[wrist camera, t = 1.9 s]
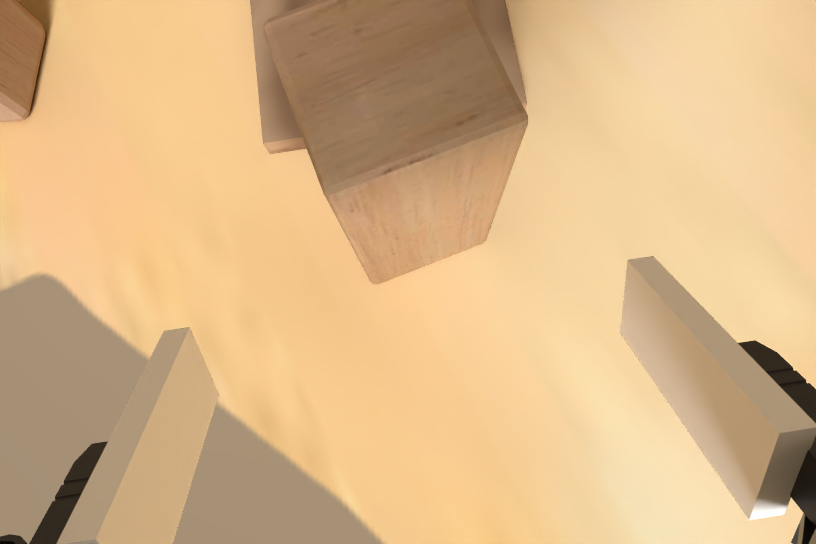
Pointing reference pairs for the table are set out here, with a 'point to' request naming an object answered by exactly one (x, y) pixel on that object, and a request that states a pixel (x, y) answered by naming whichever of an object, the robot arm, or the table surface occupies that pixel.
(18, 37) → the block
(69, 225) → the table surface
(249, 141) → the table surface
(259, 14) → the marked board
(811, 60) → the table surface
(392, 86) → the wooden block
